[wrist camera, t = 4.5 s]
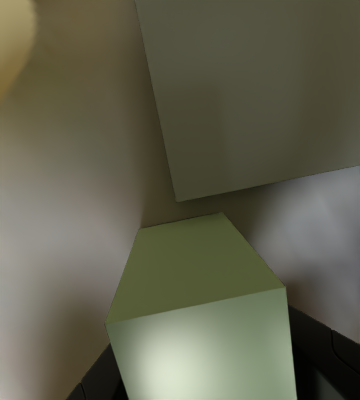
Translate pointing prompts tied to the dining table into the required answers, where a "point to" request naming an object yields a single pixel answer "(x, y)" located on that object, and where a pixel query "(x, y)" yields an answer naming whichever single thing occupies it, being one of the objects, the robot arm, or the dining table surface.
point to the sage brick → (200, 317)
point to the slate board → (253, 89)
